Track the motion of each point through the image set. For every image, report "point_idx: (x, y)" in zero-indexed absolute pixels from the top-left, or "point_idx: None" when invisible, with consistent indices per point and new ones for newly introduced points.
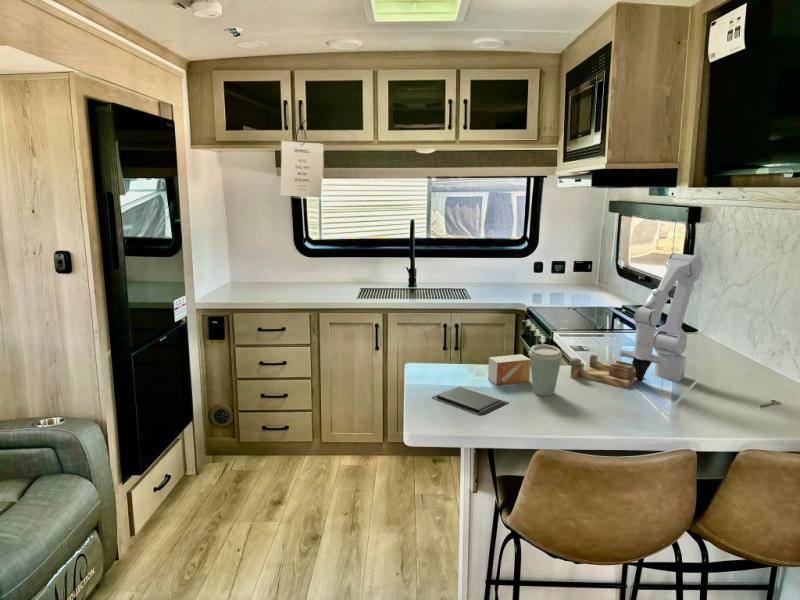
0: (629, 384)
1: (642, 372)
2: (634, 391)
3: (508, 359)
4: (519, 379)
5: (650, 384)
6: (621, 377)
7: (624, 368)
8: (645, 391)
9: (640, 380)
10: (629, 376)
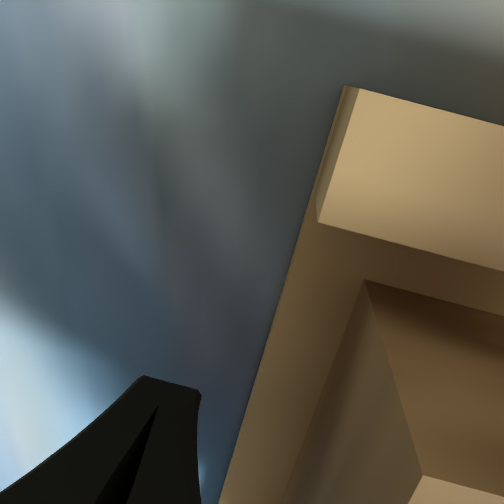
0: (308, 285)
1: (39, 491)
2: (216, 58)
3: None
4: None
5: None
6: (476, 352)
7: None
8: (67, 149)
9: (143, 384)
10: (323, 461)
